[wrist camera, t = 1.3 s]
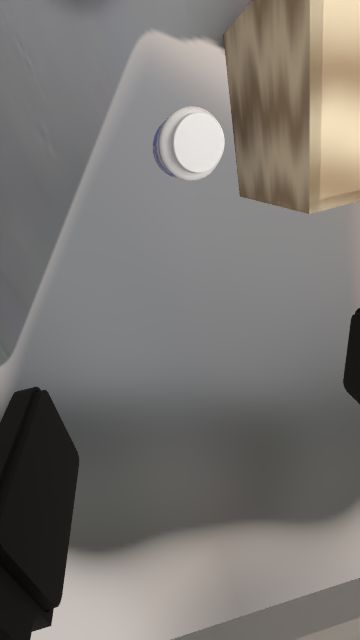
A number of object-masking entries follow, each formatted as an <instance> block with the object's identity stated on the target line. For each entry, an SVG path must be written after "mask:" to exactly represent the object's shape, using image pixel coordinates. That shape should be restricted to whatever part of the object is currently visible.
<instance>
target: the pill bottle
mask: <svg viewBox="0 0 360 640" xmlns="http://www.w3.org/2000/svg"><path fill="white" fill-rule="evenodd" d="M224 145H225V140H224V133H223V130H222V128H221V126H220V124H219V122H218V121H217V120H216V119H215V117H214V116H213V115H212V114H211V113H210V112H208V111H207V110H205V109H203V108H200V107H196V106H188V107H184V108H181V109H180V110H177V111H176V112H174V113H173V114H172V115H171V116H170V117H169V118H168V119H167V120H166V121H165V122H164V123H163V124H162V125H161V126H160V127H159V129H158V130H157V132H156V134H155V137H154V142H153V153H154V157H155V160H156V162H157V164H158V166H159V167H160V168H161V169H162V170H163V171H164V172H165V173H166V174H168V175H170V176H173V177H176V178H180V179H183V180H188V181H195V180H199V179H202V178H204V177H206V176H208V175H209V174H210V173H211V172H212V171H213V170H214V169H215V167H216V166H217V164H218V163H219V161H220V158H221V157H222V154H223V151H224Z"/></svg>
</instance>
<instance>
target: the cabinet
mask: <svg viewBox="0 0 360 640" xmlns="http://www.w3.org/2000/svg"><path fill="white" fill-rule="evenodd" d="M223 36H224V46H225V55H226V65H227V75H228V84H229V94H230V104H231V113H232V123H233V133H234V142H235V152H236V162H237V172H238V181H239V191H240V196H241V197H245V198H249V199H253V200H256V201H260V202H264V203H269V204H272V205H277V206H281V207H284V208H288V209H292V210H296V211H300V212H304V213H308V214H311V213H315V212H319V211H323V210H327V209H330V208H334V207H338V206H342V205H346V204H350V203H353V202H357V201H360V0H251V1H250V3H249V4H248V5H247V6H246V8H245V9H244V10H243V11H242V13H241V14H240V15H239V16H238V18H237V19H236V20H235V21H234V23H233V24H232V25H231V26H230V28H229V29H228V30H227V31H226V33H225V34H224V35H223Z"/></svg>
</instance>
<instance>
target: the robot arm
mask: <svg viewBox="0 0 360 640" xmlns="http://www.w3.org/2000/svg"><path fill="white" fill-rule="evenodd" d="M343 383H344V387H345V389H346V391H347V392H348V393H349V394H350V395H351V396H352V397H353V398H354V399H355V400H356V401H357V402H358V403H359V404H360V308H359V309H357V311H356V312H355V314H354V315H353V316H352V318H351V325H350V332H349V340H348V348H347V356H346V363H345V371H344V379H343ZM78 468H79V456H78V452H77V450H76V448H75V446H74V444H73V442H72V440H71V438H70V436H69V434H68V432H67V430H66V428H65V426H64V424H63V422H62V420H61V418H60V416H59V414H58V412H57V410H56V408H55V405H54V403H53V401H52V400H51V397H50V396H49V393H48V392H47V391H46V390H43V391H41V390H40V389H39V388H38V387H33V388H29V389H25V390H21V391H17V392H15V393H14V394H13V396H12V398H11V400H10V402H9V405H8V407H7V409H6V411H5V413H4V416H3V418H2V420H1V422H0V640H30V637H31V632H32V631H36V630H39V629H42V628H45V627H49V626H51V622H52V616H53V609H54V608H55V607H58V605H59V604H60V601H61V598H62V591H63V584H64V576H65V568H66V560H67V553H68V545H69V538H70V530H71V522H72V515H73V506H74V499H75V491H76V483H77V476H78ZM172 640H360V578H358V579H355V580H352V581H349V582H346V583H343V584H340V585H336V586H333V587H330V588H327V589H324V590H321V591H318V592H315V593H312V594H309V595H306V596H302V597H299V598H296V599H293V600H290V601H287V602H284V603H281V604H278V605H275V606H272V607H269V608H266V609H263V610H259V611H256V612H253V613H250V614H248V615H245V616H241V617H238V618H235V619H232V620H230V621H226V622H223V623H220V624H217V625H214V626H211V627H208V628H205V629H202V630H199V631H196V632H193V633H190V634H187V635H184V636H181V637H178V638H175V639H172Z"/></svg>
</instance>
